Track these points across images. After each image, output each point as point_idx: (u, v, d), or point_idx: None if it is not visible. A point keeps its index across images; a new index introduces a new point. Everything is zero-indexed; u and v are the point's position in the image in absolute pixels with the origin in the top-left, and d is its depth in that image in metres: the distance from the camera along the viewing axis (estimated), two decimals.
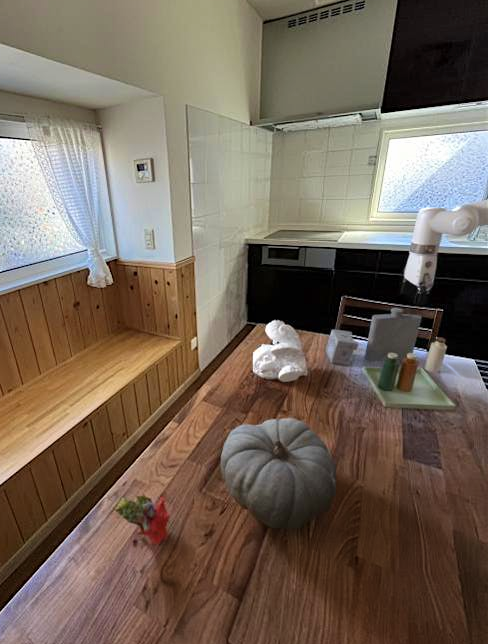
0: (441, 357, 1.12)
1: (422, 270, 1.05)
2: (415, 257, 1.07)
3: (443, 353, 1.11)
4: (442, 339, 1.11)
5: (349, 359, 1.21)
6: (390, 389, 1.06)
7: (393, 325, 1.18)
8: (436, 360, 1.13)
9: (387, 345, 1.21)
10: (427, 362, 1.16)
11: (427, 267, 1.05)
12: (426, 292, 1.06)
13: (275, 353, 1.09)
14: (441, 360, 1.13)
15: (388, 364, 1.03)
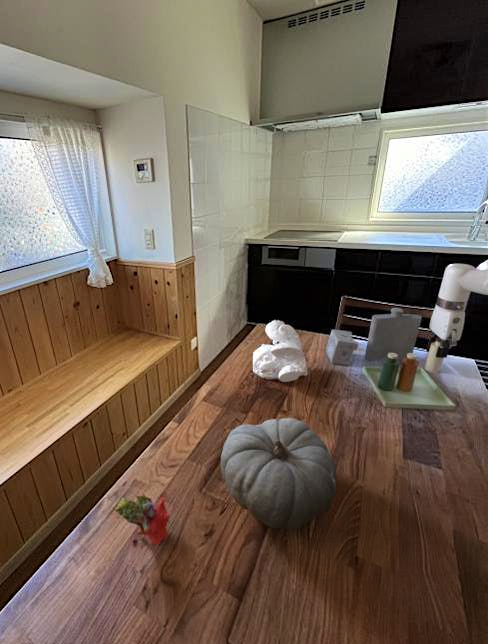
0: None
1: (450, 326, 1.05)
2: (442, 311, 1.07)
3: None
4: None
5: (349, 359, 1.21)
6: (390, 389, 1.06)
7: (393, 325, 1.18)
8: (436, 360, 1.13)
9: (387, 345, 1.21)
10: (427, 362, 1.16)
11: (455, 323, 1.04)
12: (448, 347, 1.08)
13: (275, 353, 1.09)
14: (441, 360, 1.13)
15: (388, 364, 1.03)
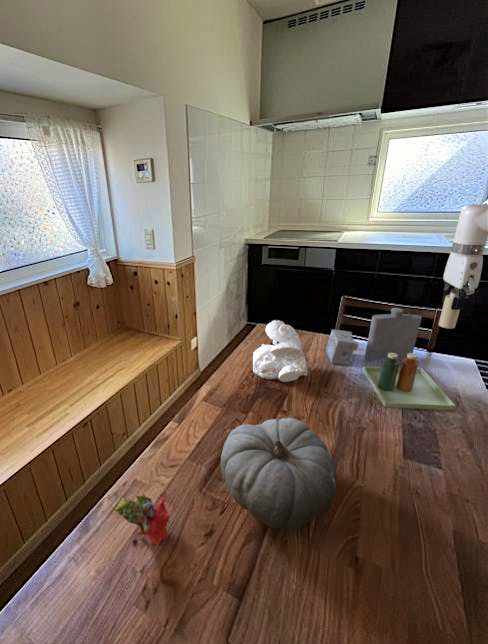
0: None
1: (466, 272, 0.97)
2: (458, 258, 0.99)
3: None
4: None
5: (349, 359, 1.21)
6: (390, 389, 1.06)
7: (393, 325, 1.18)
8: (452, 313, 1.05)
9: (387, 345, 1.21)
10: (441, 316, 1.08)
11: (472, 269, 0.97)
12: (465, 296, 1.01)
13: (275, 353, 1.09)
14: (457, 313, 1.05)
15: (388, 364, 1.03)
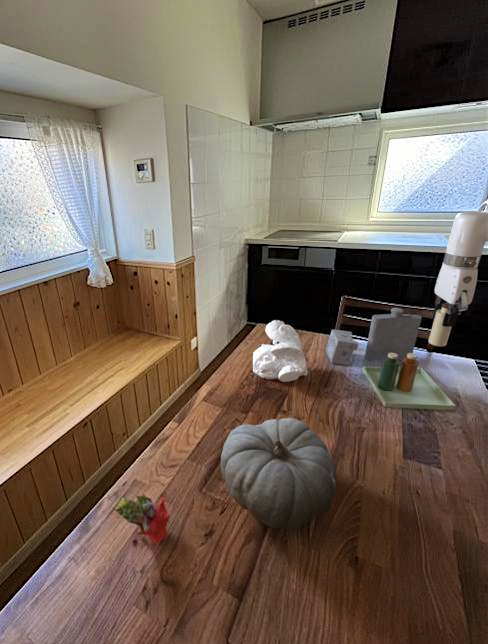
0: None
1: (459, 286, 0.88)
2: (450, 270, 0.90)
3: None
4: None
5: (349, 359, 1.21)
6: (390, 389, 1.06)
7: (393, 325, 1.18)
8: (443, 330, 0.96)
9: (387, 345, 1.21)
10: (432, 333, 0.99)
11: (465, 283, 0.88)
12: (457, 313, 0.91)
13: (275, 353, 1.09)
14: (448, 330, 0.96)
15: (388, 364, 1.03)
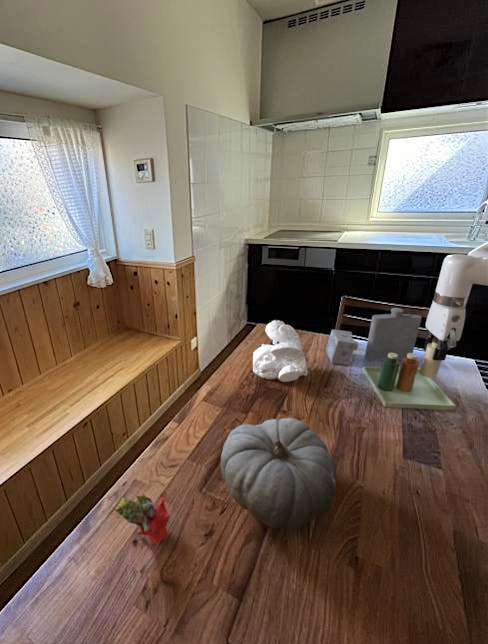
0: (438, 360, 1.00)
1: (448, 324, 0.93)
2: (440, 308, 0.95)
3: None
4: None
5: (349, 359, 1.21)
6: (390, 389, 1.06)
7: (393, 325, 1.18)
8: (433, 363, 1.01)
9: (387, 345, 1.21)
10: (423, 365, 1.03)
11: (454, 321, 0.92)
12: (447, 348, 0.96)
13: (275, 353, 1.09)
14: (438, 363, 1.01)
15: (388, 364, 1.03)
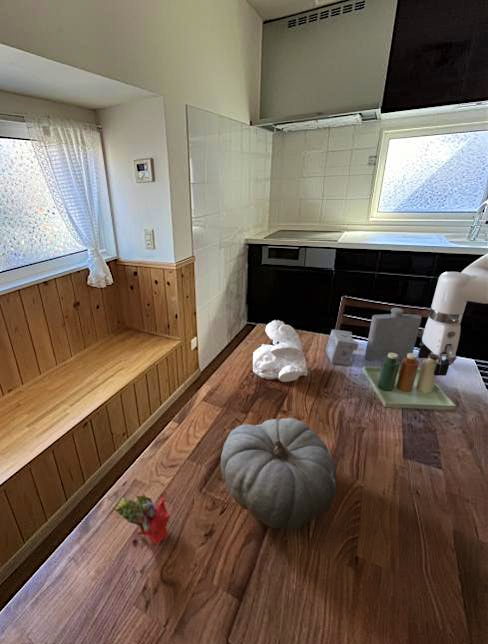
0: (434, 375, 1.02)
1: (444, 340, 0.95)
2: (435, 324, 0.97)
3: None
4: (435, 355, 1.02)
5: (349, 359, 1.21)
6: (390, 389, 1.06)
7: (393, 325, 1.18)
8: (429, 378, 1.03)
9: (387, 345, 1.21)
10: (419, 380, 1.06)
11: (449, 337, 0.94)
12: (448, 364, 0.96)
13: (275, 353, 1.09)
14: (434, 378, 1.03)
15: (388, 364, 1.03)
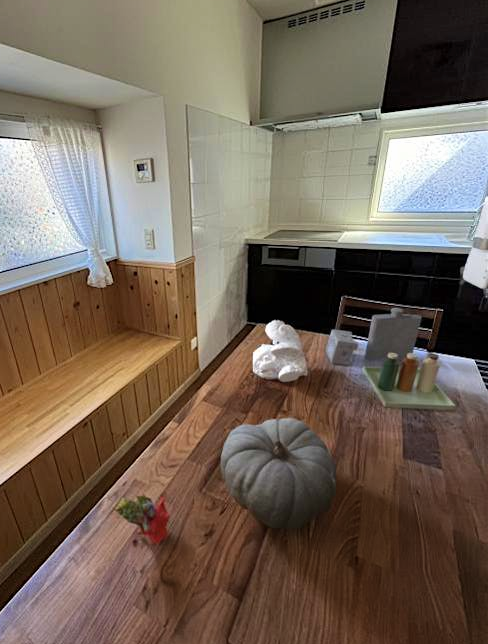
0: (434, 375, 1.02)
1: None
2: (481, 254, 0.89)
3: (436, 370, 1.02)
4: (435, 355, 1.02)
5: (349, 359, 1.21)
6: (390, 389, 1.06)
7: (393, 325, 1.18)
8: (429, 378, 1.03)
9: (387, 345, 1.21)
10: (419, 380, 1.06)
11: None
12: None
13: (275, 353, 1.09)
14: (434, 378, 1.03)
15: (388, 364, 1.03)
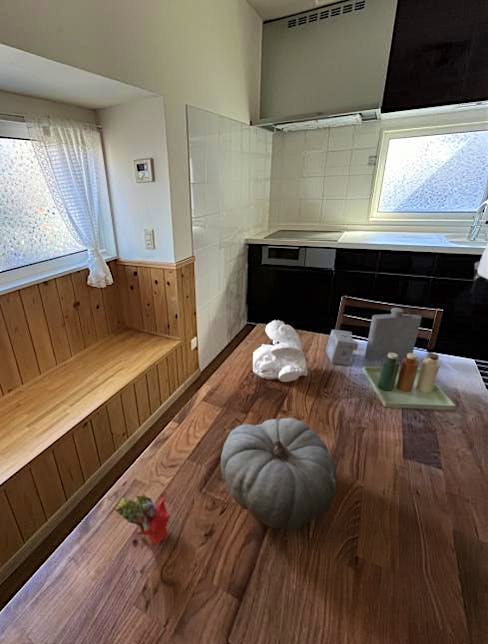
0: (434, 375, 1.02)
1: None
2: None
3: (436, 370, 1.02)
4: (435, 355, 1.02)
5: (349, 359, 1.21)
6: (390, 389, 1.06)
7: (393, 325, 1.18)
8: (429, 378, 1.03)
9: (387, 345, 1.21)
10: (419, 380, 1.06)
11: None
12: None
13: (275, 353, 1.09)
14: (434, 378, 1.03)
15: (388, 364, 1.03)
